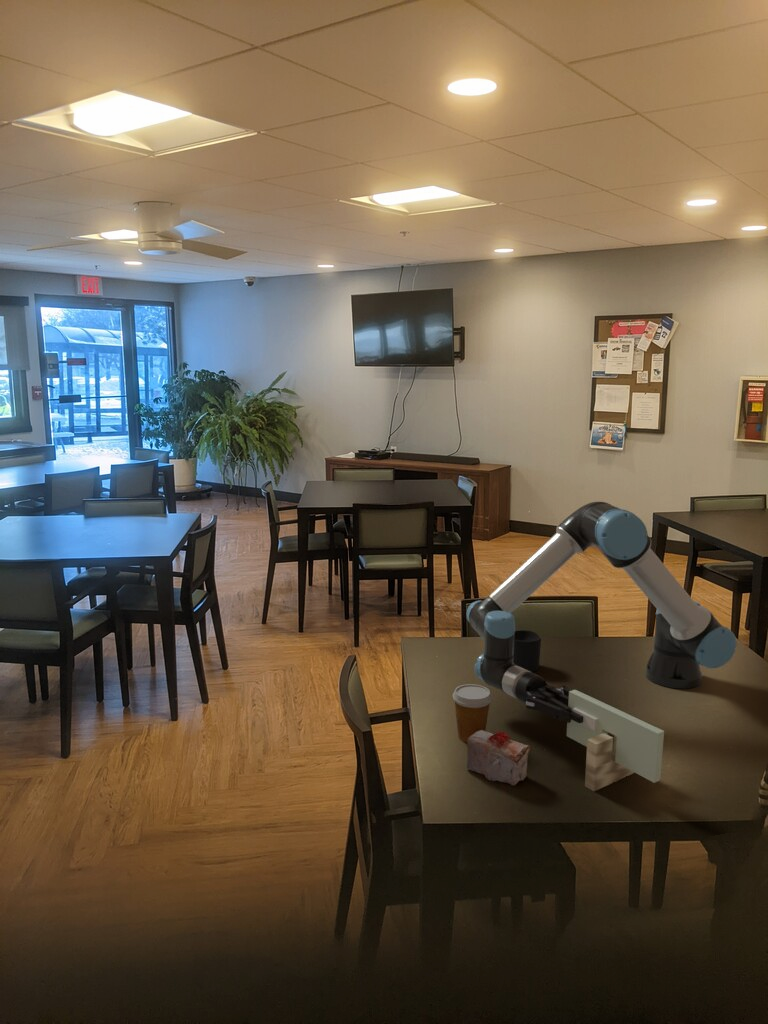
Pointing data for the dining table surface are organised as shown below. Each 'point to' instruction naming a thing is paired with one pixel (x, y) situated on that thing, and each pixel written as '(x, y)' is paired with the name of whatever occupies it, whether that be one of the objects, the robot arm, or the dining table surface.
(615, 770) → the birch slotted plate
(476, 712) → the disposable coffee cup
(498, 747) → the food item
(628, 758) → the sage slotted plate
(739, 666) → the dining table surface
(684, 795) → the dining table surface
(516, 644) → the pen holder
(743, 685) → the dining table surface
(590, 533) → the robot arm
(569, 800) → the dining table surface
